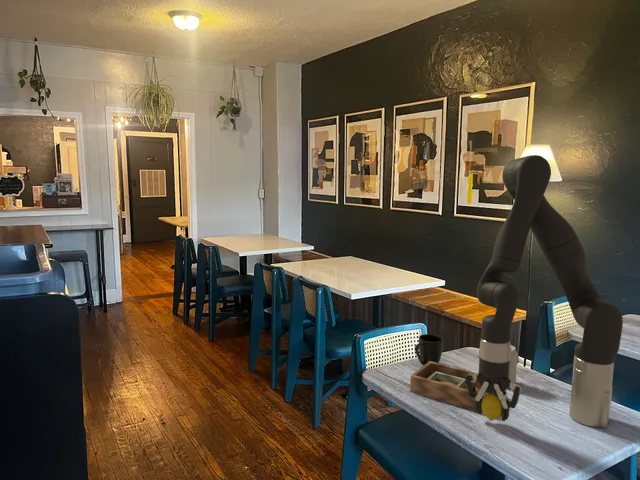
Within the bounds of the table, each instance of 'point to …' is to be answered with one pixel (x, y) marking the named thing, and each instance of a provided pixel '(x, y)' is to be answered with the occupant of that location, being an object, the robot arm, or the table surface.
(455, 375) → the caddy
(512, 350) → the can
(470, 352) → the table surface
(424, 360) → the mug
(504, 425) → the table surface
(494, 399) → the lemon
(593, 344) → the robot arm
